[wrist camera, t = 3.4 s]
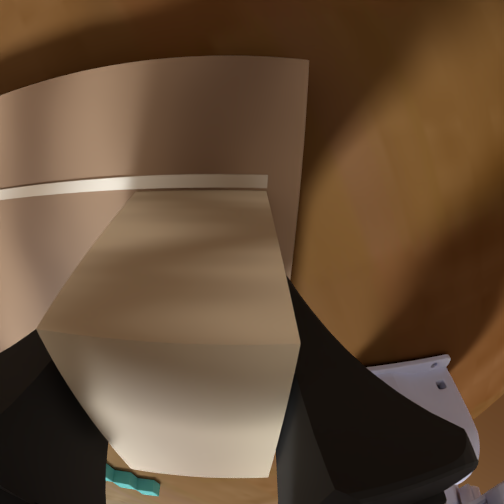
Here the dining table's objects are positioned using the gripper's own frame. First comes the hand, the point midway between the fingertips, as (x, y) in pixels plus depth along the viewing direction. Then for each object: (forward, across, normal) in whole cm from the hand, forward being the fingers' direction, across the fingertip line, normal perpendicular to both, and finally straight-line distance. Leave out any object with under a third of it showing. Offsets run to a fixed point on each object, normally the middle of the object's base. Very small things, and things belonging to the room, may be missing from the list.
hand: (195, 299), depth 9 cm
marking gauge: (+1, 0, +2) cm, 2 cm away
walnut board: (+3, +6, +1) cm, 7 cm away
